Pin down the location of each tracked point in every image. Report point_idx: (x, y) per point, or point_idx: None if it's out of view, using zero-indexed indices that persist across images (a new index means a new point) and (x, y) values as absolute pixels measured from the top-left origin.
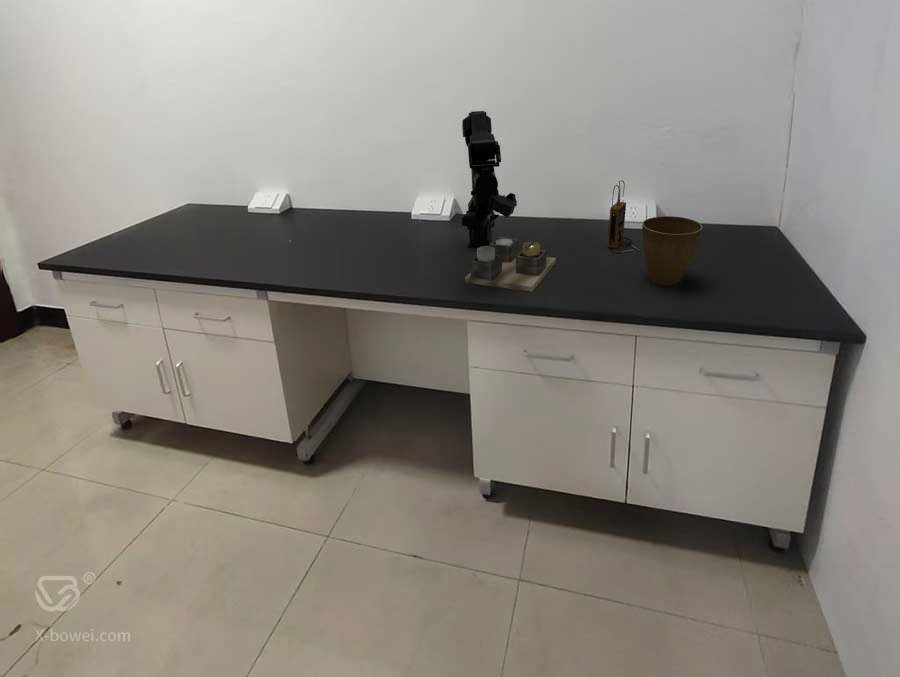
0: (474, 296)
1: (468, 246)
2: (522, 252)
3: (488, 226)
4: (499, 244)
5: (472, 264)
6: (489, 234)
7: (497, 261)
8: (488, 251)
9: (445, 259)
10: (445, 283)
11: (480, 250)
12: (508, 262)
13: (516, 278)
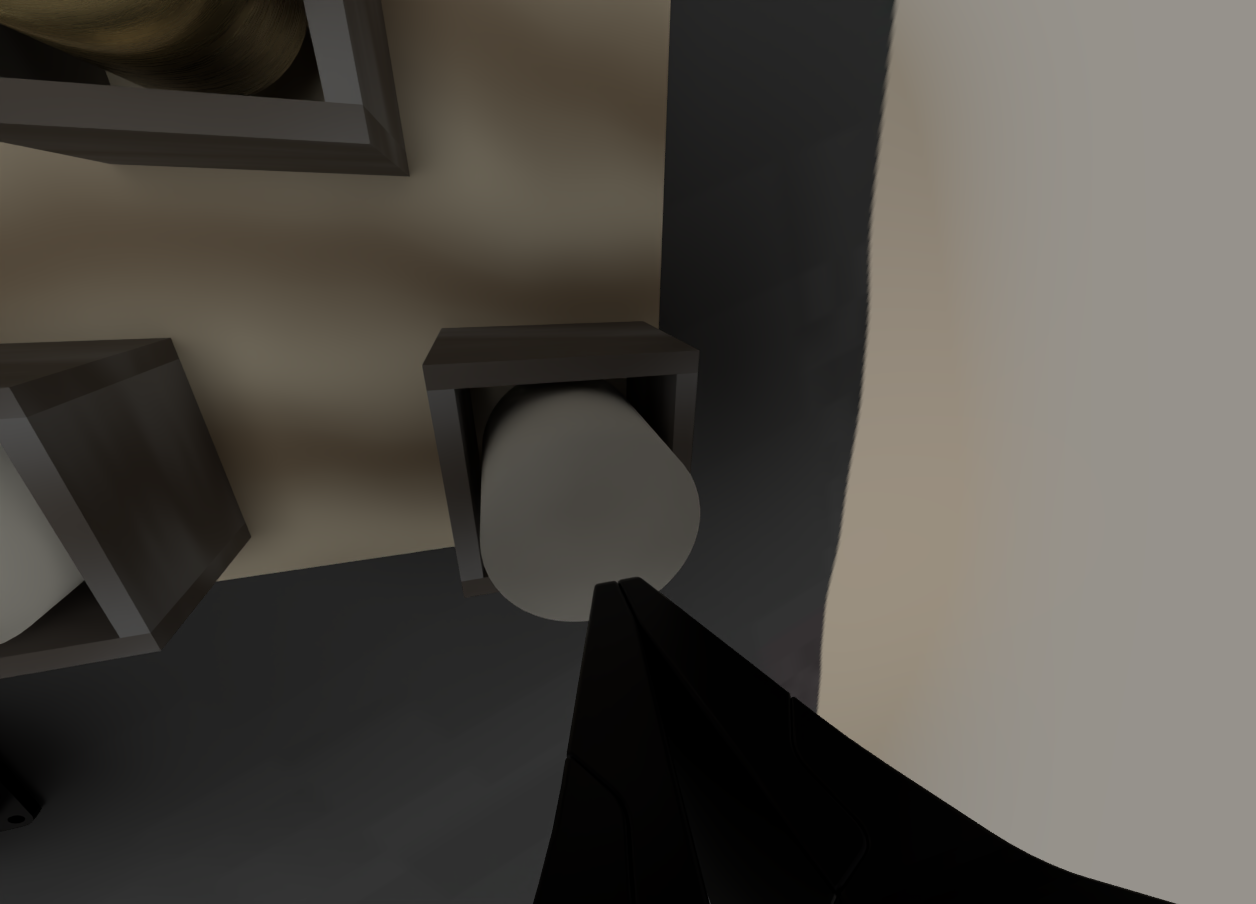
0: (806, 358)
1: (37, 808)
2: (176, 42)
3: (913, 856)
4: (56, 561)
5: None
6: (614, 659)
7: (560, 352)
8: (661, 471)
9: (366, 762)
10: (680, 579)
11: (652, 562)
12: (188, 361)
13: (537, 121)
